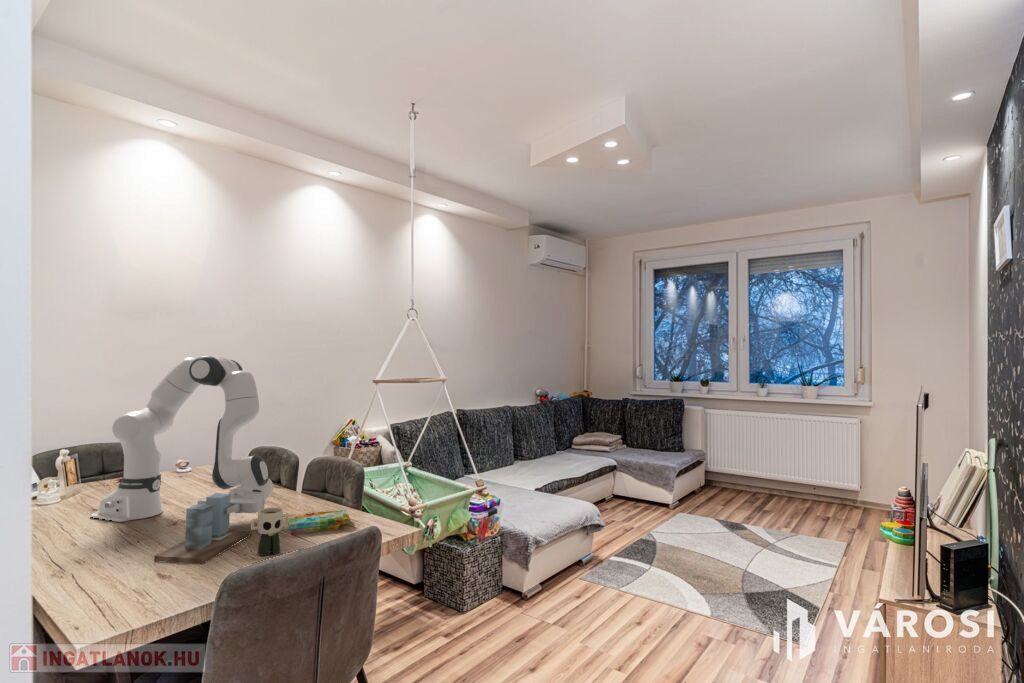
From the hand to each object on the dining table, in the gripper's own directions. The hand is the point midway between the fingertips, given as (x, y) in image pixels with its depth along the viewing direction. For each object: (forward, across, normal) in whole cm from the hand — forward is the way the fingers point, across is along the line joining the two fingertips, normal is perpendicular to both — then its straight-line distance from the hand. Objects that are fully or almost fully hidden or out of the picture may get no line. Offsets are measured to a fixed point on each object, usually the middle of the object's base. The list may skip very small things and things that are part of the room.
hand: (216, 511), depth 166 cm
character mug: (+7, +22, +10) cm, 25 cm away
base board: (+5, 0, +10) cm, 11 cm away
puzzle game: (-18, +26, +10) cm, 34 cm away
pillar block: (-1, 0, +7) cm, 7 cm away
